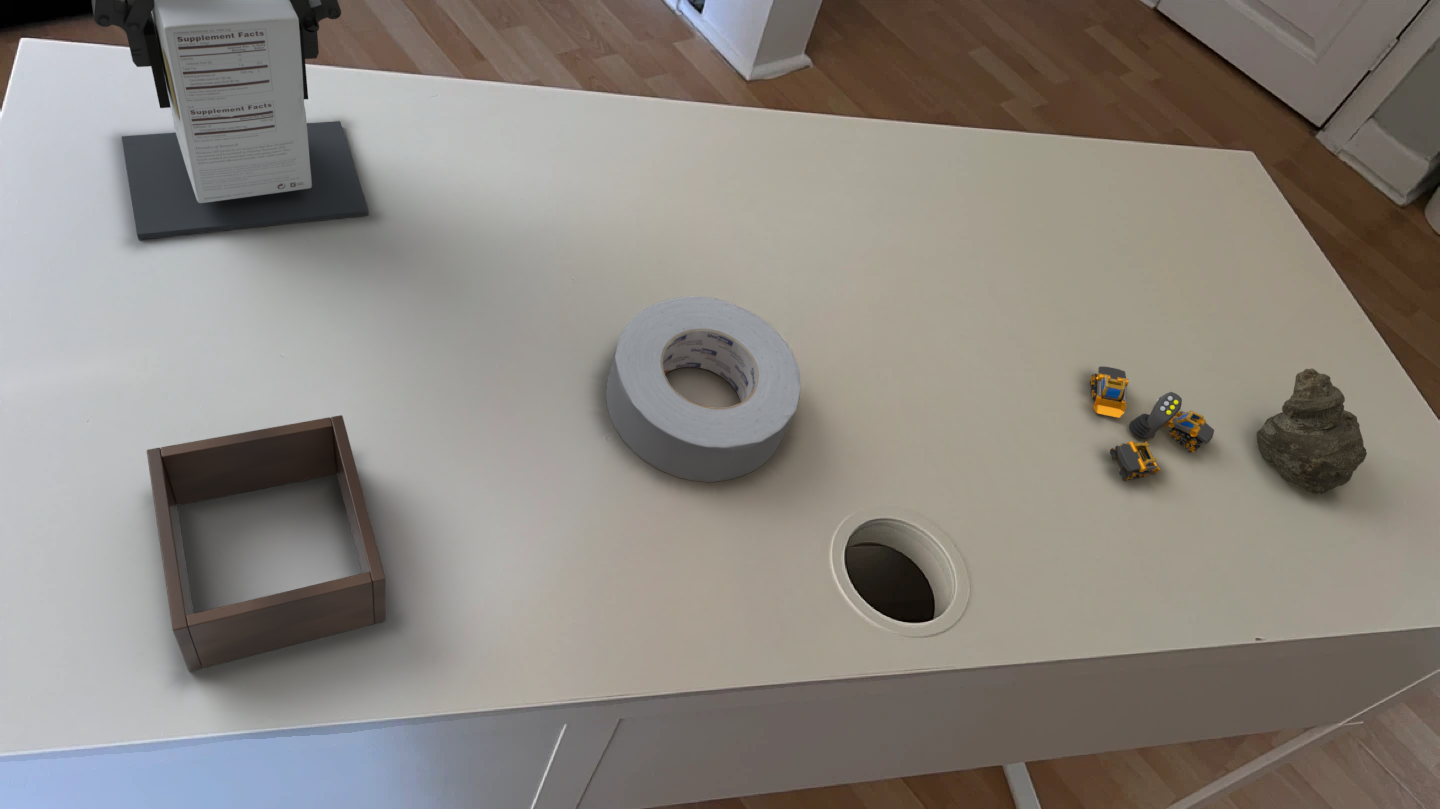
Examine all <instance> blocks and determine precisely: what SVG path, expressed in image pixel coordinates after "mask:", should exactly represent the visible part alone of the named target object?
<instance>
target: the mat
mask: <svg viewBox="0 0 1440 809" xmlns="http://www.w3.org/2000/svg"><path fill="white" fill-rule="evenodd" d="M307 133H308V146H309V158H310V170H311V180H312V187H311V188H309V189H302V190H294V191H287V192H280V193H273V194H265V195H258V196H251V197H244V198H236V199H229V200H221V201H214V202H206V203H198V202H197V199H196V196H195V193H194V190H193V187H192V184H191V181H190V178H189V175H188V172H187V169H186V165H185V162H184V159H183V155H182V152H181V149H180V145H179V142H178V138H177V135H176V132H165V133H164V132H163V133H148V134H133V135H122V136H121V137H120V138H121V143H122V149H123V156H124V161H125V162H124V163H125V168H126V174H127V182H128V188H129V193H130V194H129V195H130V199H131V205H132V211H133V219H134V224H135V232H136V236H137V239H138V240H149V239H156V238H168V237H175V236H184V235H195V234H203V233H213V232H224V231H232V230H241V229H251V228H260V227H261V228H262V227H271V226H279V225H280V226H281V225H290V224H298V223H300V224H301V223H310V222H317V221H326V220H327V221H328V220H337V219H346V218H355V217H365V216H369V215H370V214H369V208H368V205H367V201H366V198H365V196H364V191H363V189H362V186H361V182H360V179H359V176H358V173H357V170H356V166H355V164H354V161H353V157H352V154H351V150H350V148H349V145H348V142H347V141H348V140H347V138H346V135H345V132H344V129H343V125H342V123H341V120H336V121H335V120H334V121H321V122H307Z"/></svg>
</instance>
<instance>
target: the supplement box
mask: <svg viewBox="0 0 1440 809" xmlns="http://www.w3.org/2000/svg"><path fill="white" fill-rule="evenodd" d="M151 13H152V17H153V22H154V27H155V32H156V37H157V42H158V46H159V51H160V56H161V61H162V66H163V71H164V76H165V81H166V86H167V91H168V96H169V101H170V106H171V108H170V113H171V117H172V123H173V127H174V131H175V132H174V133H176V135H177V138H178V142H179V145H180V149H181V152H182V155H183V159H184V162H185V165H186V169H187V172H188V175H189V178H190V181H191V184H192V187H193V190H194V193H195V196H196V199H197V202H198V203H206V202H214V201H221V200H229V199H236V198H244V197H251V196H258V195H265V194H273V193H280V192H287V191H294V190H302V189H309V188H311V187H312V180H311V170H310V158H309V146H308V133H307V123H308V122H307V112H306V107H305V99H304V92H303V72H302V57H301V45H300V31H299V19H298V16H297V14H296V13H295V11H294V9H293V6H292V4H291V2H290V0H154V7H153V9H152V11H151Z"/></svg>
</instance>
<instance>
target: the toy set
mask: <svg viewBox="0 0 1440 809" xmlns="http://www.w3.org/2000/svg"><path fill="white" fill-rule="evenodd" d="M1129 382H1130V380H1129V378H1127V375H1126V371H1125V370H1122V369H1119V368H1115V367H1110V366H1102V365H1101V366H1098V373H1093V374H1092V375H1091V376H1090V380H1089V383H1090V385H1089V386H1090V397H1091V398H1092V399H1093V400H1094V403H1093V406H1092V409H1093V411H1094V412H1095V413H1096V414H1097V415H1098V414H1099V415H1102V416H1103V415H1104V416H1109V417H1114V418H1121V417H1123V415H1124V413H1125V412H1126V409H1127V407H1128V405H1127V404H1126V403H1127V395H1128V394H1127V392H1128V385H1129ZM1182 403H1183V399H1182V397H1181V396H1180V395H1179V394H1177V393H1176V392H1173V391H1169V392H1167V393H1165V394H1163V395H1161V396H1160V397H1158V398H1157V399H1156V403H1155V404H1154V406H1153V408H1152V410H1151V411H1150V413H1149V414H1148V413H1141V414H1140V415H1138V416H1137V417H1136V418H1134V419H1132V420H1131V421H1130V423H1129V425H1128V428H1129V431H1130V433H1131V435H1133V436H1134V437H1135V438H1137V439H1138V440H1143V441H1145V442H1135V441H1134V440H1130V441H1128V442H1126V443H1121V444H1119V445H1116V446H1115V447H1112V448H1110V449H1109V454H1110V456H1111V459H1112V460H1113V461H1116V463H1117V466H1118V468H1119V473H1118V474H1119V475H1120V477H1121V480H1122V481H1123V482H1126V481H1131V480H1137V479H1141V478H1146V477H1148V476H1150V475H1151V472H1152V473H1154V474H1158V473H1159V472H1160V471H1161V468H1160V467H1159V466H1158V465H1157V463H1156V461H1157V458H1156V457H1154V455H1153V453H1152V451H1151V449H1150V447H1149V446H1150V444H1149V443H1148V441H1147V440H1152V439H1154V438H1155V436H1156V434H1157V432H1158V431H1160V430H1161V429H1162V428H1166V427H1167V426H1168V427H1169V428H1170V430H1169V434H1170V437H1171V439H1175V442H1176V443H1177V442H1179V445H1180V446H1183V448H1184V449H1185V450H1187V449H1188V452H1189V453H1196V452H1198V450H1199V449H1200V447H1201V444H1205V445H1207V444H1210V442H1211V441H1212V439H1213V437H1214V433H1215V429H1214V428H1213V427H1211V425H1209V424H1208V423H1207V420H1206V418H1205V416H1204V415H1203V414H1200V413H1198V412H1195V411H1194V410H1191V409H1190V410H1189V411H1187V412H1186V411H1182V409H1181V408H1182ZM1176 417H1177V420H1175V418H1176ZM1174 420H1175V421H1174Z"/></svg>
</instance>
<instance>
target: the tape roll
mask: <svg viewBox="0 0 1440 809" xmlns="http://www.w3.org/2000/svg"><path fill="white" fill-rule="evenodd" d="M614 351H615V352H614V355H613V358H612V363H611V366H610V371H609V374H608V378H607V382H606V387H605V388H606V391H605V398H606V399H605V400H606V406H607V411H608V415H609V417H610V420H611V423H612V426H613V427H614V428H615V430H616V432H617V434H618V435H619V436H620V438H621V440H622V441H623V442H624V443H625V445H626V446H627V447H628V448H629V449H630V450H631V451H632V452H633V453H635V454H636V455H637V456H638V457H639V458H640V459H642V460H643V461H645V463H647V464H648V465H650V466H652V467H654V468H656V469H657V470H659V471H661V472H664V473H665V474H669V475H671V476H674V477H677V478H680V479H684V480H689V481H694V482H703V483H704V482H705V483H714V482H722V481H723V482H724V481H728V480H732V479H737V478H741V477H743V476H746V475H748V474H750V473H752V472H754V471H755V470H757V469H758V468H760V467H761V466H763V465H764V464H765V463H766V462H767V461H768V460H769V459H770V458H771V457H772V456H773V455H774V454H775V452H776V451H777V449H778V448H779V446H780V444H781V442H782V440H783V438H784V436H785V434H786V432H787V430H788V428H789V425H790V423H791V422H792V419H793V418H794V416H795V414H796V412H797V409H798V407H799V402H800V398H801V391H802V382H801V378H802V377H801V372H800V367H799V364H798V361H797V359H796V357H795V355H794V352H793V350H792V349H791V348H790V345H789V344H788V343H787V341H785V340H784V338H783V336H781V334H779V333H778V332H777V331H776V330H775V328H774V327H773V326H771V325H770V324H769V323H768V322H766V320H764V319H763V318H761V317H760V316H759V315H756V314H755V313H753V312H752V311H750V310H747V309H746V308H743V307H741V306H739V305H737V304H734V303H733V302H729V301H726V300H723V299H719V298H716V297H709V296H698V295H696V296H695V295H694V296H693V295H692V296H691V295H690V296H677V297H673V298H670V299H665V300H663V301H660V302H656V303H654V304H652V305H650V306H648V307H646V308H645V309H642V310H641V311H640V312H639V313H637V314H636V315H635V316H634V317H633V318H632V319H631V320H630V321H629V322H628V323H627V324H626V325H625V326H624V328H623V330H622V332H620V335H619V338H618V340H617V343H616V346H615V350H614ZM689 367H691V368H698V369H699V368H700V369H703V370H707V371H710V372H711V373H712V372H713V373H714V374H716V375H718V376H720V377H721V378H723V379H724V380H725V381H727V383H729V384H730V386H731V387H732V389H734V391H735V392H736V394H737V395H738V398H739V401H740V402H739V403H737V404H734V405H730V406H724V407H714V406H705V405H701V404H698V403H695V402H693V401H691V400H690V399H688V398H686V397H685V396H684V395H681V394H680V392H678V391H677V390H676V389H675V388H674V387H673V386H672V385H671V383H670V381H669V379H668V378H667V376H666V374H667V373H669V372H670V371H673V370H677V369H680V368H681V369H682V368H689Z"/></svg>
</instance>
